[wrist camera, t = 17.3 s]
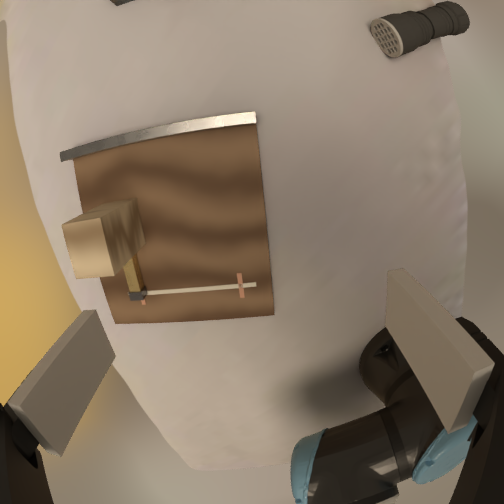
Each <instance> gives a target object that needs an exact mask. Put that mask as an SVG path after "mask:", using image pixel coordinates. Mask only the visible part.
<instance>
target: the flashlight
mask: <svg viewBox="0 0 504 504" xmlns="http://www.w3.org/2000/svg"><path fill="white" fill-rule="evenodd" d="M469 25H470V21H469V18H468V15H467V13H466V11H465V10H464V9H463V8H462V7H461V6H460V5H458V4H456V3H453V2H449V1H446V2H441V3H437V4H436V6H433V7H429V8H427V9H425V10H421V11H418V12H414V11H407V12H403V13H401V14H390V15H387V16H384V17H381V18H378V19H375V20H373V21H372V23H371V32H372V35H373V37H374V39H375V41H376V42H377V44H378V45H379V47H380V48H381V50H382V51H383V52H384V53H385V54H387V55H388V56H390V57H393V58H396V57H398V56H401V55H403V54H406V53H409V52H411V51H414V50H415V49H416V48H417V47H418V46H422V45H425V44H428V43H429V42H430V40H431V39H434V38H437V37H440V36H441V37H444V36H447V35H458V34H461V33H464V32H465V31H466V30H467V29H468V28H469Z"/></svg>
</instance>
